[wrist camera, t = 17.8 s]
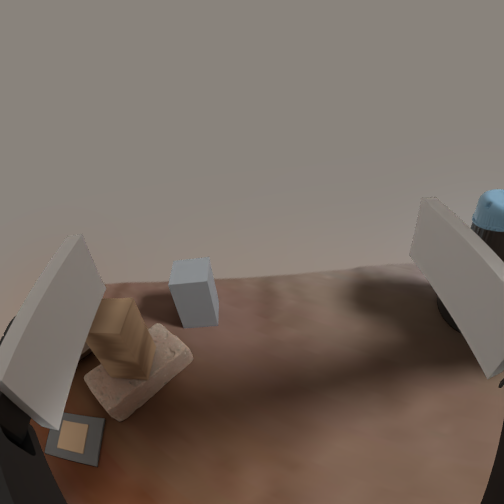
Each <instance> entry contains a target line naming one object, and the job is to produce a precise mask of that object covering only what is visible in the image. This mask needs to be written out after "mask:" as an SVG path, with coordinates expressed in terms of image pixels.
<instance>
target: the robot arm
mask: <svg viewBox="0 0 504 504" xmlns="http://www.w3.org/2000/svg"><path fill="white" fill-rule="evenodd" d="M472 221H473V222H472V225H471V228H470V227H469V226H468V225H466V224H465V223H464V222H463V221H462V220H461V219H460V218H459V217H458V216H457V215H456V214H455V213H453V212H452V211H451V210H450V209H449V208H448V207H447V206H446V205H444V204H443V203H442V202H441V201H440V200H439V199H438V198H436V197H426V198H421V203H420V208H419V213H418V218H417V223H416V228H415V232H414V237H413V241H412V245H411V249H410V253H409V255H410V257H411V258H412V260H413V261H414V262H415V264H416V265H417V266H418V268H419V269H420V271H421V272H422V273H423V275H424V276H425V278H426V279H427V280H428V282H429V283H430V285H431V286H432V288H433V289H434V291H435V292H436V294H437V295H438V297H437V303H438V308H439V310H440V313H441V314H442V316H443V318H444V319H445V320H446V321H447V322H448V324H449V325H451V326H452V327H453V328H454V329H456V330H457V331H459V332H460V333H462V334H463V336H464V338H465V340H466V341H467V343H468V345H469V346H470V348H471V350H472V352H473V353H474V355H475V357H476V359H477V361H478V363H479V364H480V366H481V368H482V370H483V372H484V374H485V376H486V378H487V379H489V378H491V377H493V376H495V375H497V374H499V373H501V372H502V371H503V370H504V190H500V189H497V190H490V191H487V192H485V193H484V194H482V195H481V196H480V198H479V201H478V204H477V207H476V210H475V213H474V214H473V217H472ZM105 290H106V287H105V285H104V283H103V281H102V279H101V277H100V275H99V272H98V270H97V268H96V266H95V263H94V261H93V259H92V257H91V254H90V252H89V249H88V247H87V245H86V242H85V240H84V237H83V235H82V234H79V235H73V236H68V237H67V238H66V239H65V240H64V242H63V243H62V245H61V246H60V247H59V249H58V250H57V251H56V253H55V254H54V256H53V257H52V259H51V260H50V262H49V263H48V265H47V266H46V268H45V269H44V271H43V272H42V274H41V275H40V277H39V278H38V280H37V282H36V283H35V285H34V286H33V288H32V289H31V291H30V293H29V294H28V296H27V298H26V299H25V301H24V303H23V305H22V306H21V308H20V310H19V311H18V313H17V315H16V316H15V317H14V318H13V319H12V321H11V322H10V323H9V325H8V327H7V329H6V330H5V332H4V336H3V337H2V338H1V341H0V504H67V503H66V501H65V499H64V497H63V495H62V493H61V491H60V489H59V487H58V485H57V483H56V481H55V479H54V477H53V475H52V472H51V470H50V468H49V466H48V463H47V461H46V459H45V456H44V454H43V451H42V449H41V446H40V444H39V441H38V438H37V435H36V433H35V430H34V429H33V427H32V426H31V425H30V424H29V422H30V419H31V418H32V419H33V420H34V421H36V422H37V423H38V424H39V425H41V426H42V427H46V428H50V429H54V430H59V428H60V424H61V420H62V416H63V412H64V408H65V404H66V401H67V397H68V394H69V390H70V387H71V383H72V380H73V377H74V374H75V371H76V368H77V364H78V361H79V358H80V355H81V352H82V350H83V347H84V344H85V341H86V338H87V336H88V333H89V330H90V327H91V325H92V322H93V320H94V317H95V314H96V312H97V309H98V307H99V304H100V302H101V299H102V297H103V295H104V292H105ZM503 385H504V378H503V380H502V381H501V382H500V384H499V388H501V387H502V386H503ZM481 504H504V421H503V427H502V432H501V437H500V441H499V446H498V450H497V454H496V458H495V461H494V465H493V468H492V472H491V475H490V478H489V482H488V485H487V488H486V490H485V493H484V496H483V499H482V501H481Z"/></svg>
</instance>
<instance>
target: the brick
mask: <svg viewBox="0 0 504 504" xmlns="http://www.w3.org/2000/svg"><path fill="white" fill-rule="evenodd" d="M148 331H149V333H150V335H151V337H152V339H153V341H154V343H155V345H156V350H155V354H154V358H153V363H152V367H151V371H150V376H149V380H138V379H124V378H113V377H111V376H110V375H109V374H108V372H107V371H106V370H105V368H104V367H103V366H102V364H100V365H99V366H97V367H96V368H94V369H93V370H91V371H90V372H89V373H87V374H86V375H85V376H84V380H85V382H86V383H87V385H88V387H89V389H90V390H91V392H92V393H93V394H94V396H95V397H96V399H97V400H98V401H99V403H100V404H101V405H102V406H103V407H104V409H105V410H106V411H107V412H108V414H109V415H110V416H111V417H112V418H114V419H116V420H117V421H119V422H120V421H123V420H124V419H127V418H128V417H129V416H130V415H131V414H133V413H134V411H135V410H136V409H137V408H140V407H141V406H142V405H143V404H144V403H145V402H147V401H148V400H149V399H150V398H151V397H152V396H154V395H155V393H156V392H158V391H159V390H160V389H161V388H162V387H163V386H164V385H165V384H166V383H167V382H169V381H170V380H171V379H172V378H173V377H174V376H176V375H177V374H178V373H179V372H181V371H182V370H183V369H184V368H185V367H186V366H187V365H189V364H190V363H191V362H192V360H193V355H192V353H191V350H190V349H189V348H188V347H187V346H186V345H185V344H184V343H183V342H182V341H181V340H180V339H179V338H178V337H177V336H174V335H173V334H171V333H170V332H169V331H168V330H167V329H166V328H165V327H164V326H162V325H161V324H159V323H157V324H155V325H154V326H152V327H151V328H149V329H148Z"/></svg>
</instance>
